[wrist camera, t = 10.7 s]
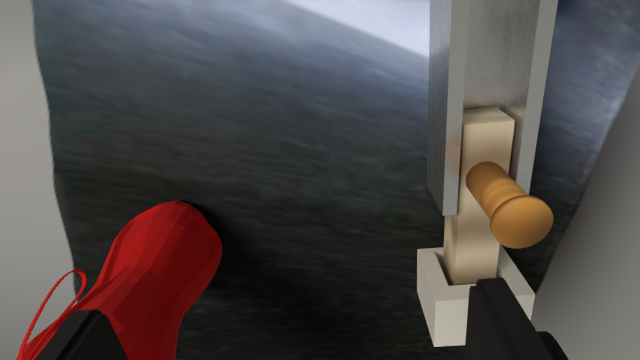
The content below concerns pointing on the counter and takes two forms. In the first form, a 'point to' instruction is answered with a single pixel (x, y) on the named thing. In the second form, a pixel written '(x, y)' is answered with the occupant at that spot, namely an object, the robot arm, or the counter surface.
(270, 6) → the counter surface
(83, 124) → the counter surface
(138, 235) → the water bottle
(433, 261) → the socket block
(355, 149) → the counter surface
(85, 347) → the robot arm
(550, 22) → the channel sleeve
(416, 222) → the counter surface
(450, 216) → the slip bar
